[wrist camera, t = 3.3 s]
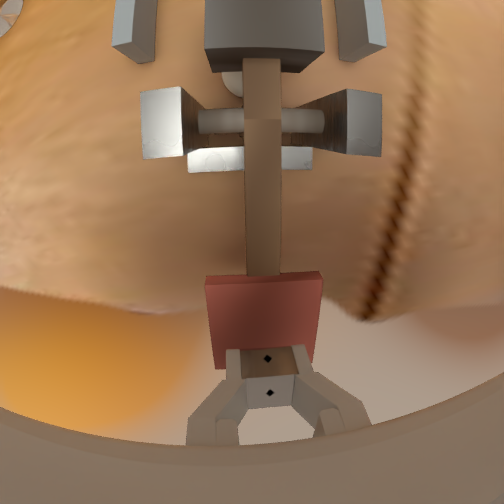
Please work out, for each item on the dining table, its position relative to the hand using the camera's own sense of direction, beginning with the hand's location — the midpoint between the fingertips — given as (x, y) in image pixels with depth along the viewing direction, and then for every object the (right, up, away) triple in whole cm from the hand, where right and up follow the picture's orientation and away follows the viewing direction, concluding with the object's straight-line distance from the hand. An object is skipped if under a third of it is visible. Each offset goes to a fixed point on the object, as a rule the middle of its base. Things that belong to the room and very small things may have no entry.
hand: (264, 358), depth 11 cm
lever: (-1, +10, +8) cm, 13 cm away
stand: (-1, +13, +7) cm, 15 cm away
